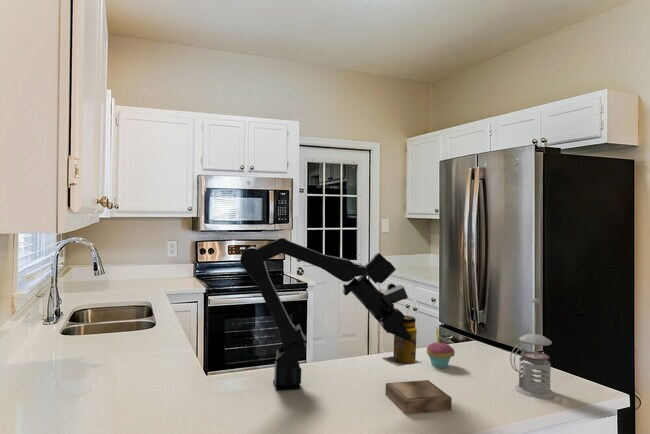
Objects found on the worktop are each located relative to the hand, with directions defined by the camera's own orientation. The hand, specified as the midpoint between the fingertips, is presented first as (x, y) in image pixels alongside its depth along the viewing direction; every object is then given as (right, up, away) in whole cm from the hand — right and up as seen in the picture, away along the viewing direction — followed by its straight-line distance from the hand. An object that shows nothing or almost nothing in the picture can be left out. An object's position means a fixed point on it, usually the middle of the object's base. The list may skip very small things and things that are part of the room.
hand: (407, 336), depth 124 cm
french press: (+33, -14, -2) cm, 36 cm away
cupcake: (+13, -14, +17) cm, 26 cm away
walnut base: (0, -13, -12) cm, 18 cm away
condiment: (-2, -7, 0) cm, 7 cm away
